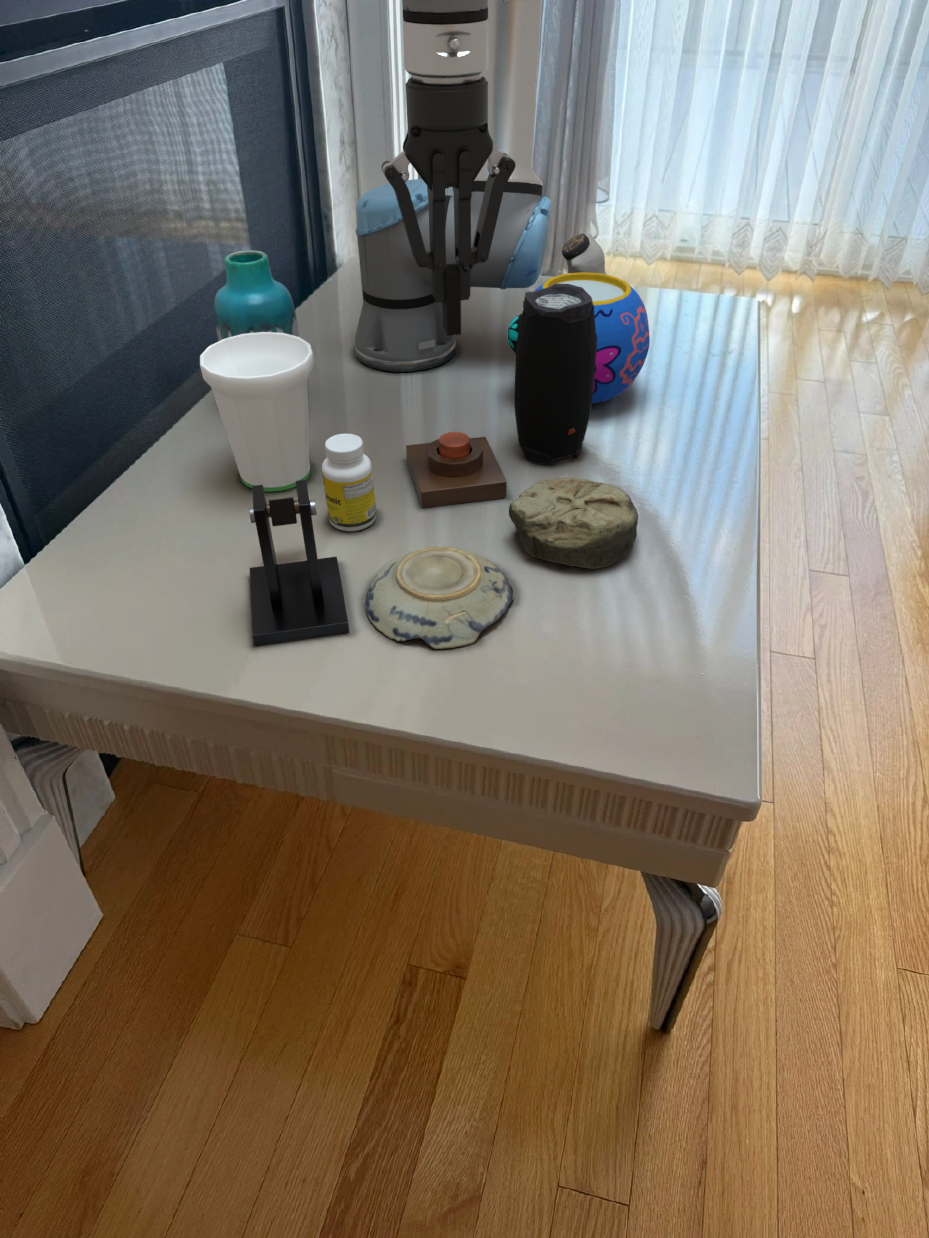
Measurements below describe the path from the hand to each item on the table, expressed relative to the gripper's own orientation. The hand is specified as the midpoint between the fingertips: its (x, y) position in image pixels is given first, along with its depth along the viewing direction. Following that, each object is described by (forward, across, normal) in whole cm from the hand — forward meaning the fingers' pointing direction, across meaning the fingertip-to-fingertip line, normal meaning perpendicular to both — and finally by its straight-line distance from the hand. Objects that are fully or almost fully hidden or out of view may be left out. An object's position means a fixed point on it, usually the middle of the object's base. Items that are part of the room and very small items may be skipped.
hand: (451, 330), depth 96 cm
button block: (+18, 0, 0) cm, 18 cm away
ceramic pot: (+19, +21, +18) cm, 33 cm away
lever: (+11, -20, -17) cm, 28 cm away
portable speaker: (+19, +13, +4) cm, 23 cm away
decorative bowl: (+19, -6, -22) cm, 30 cm away
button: (+15, 0, 0) cm, 15 cm away
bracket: (+18, -20, -20) cm, 34 cm away
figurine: (+19, +29, +37) cm, 51 cm away
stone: (+19, +10, -15) cm, 26 cm away
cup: (+19, -21, +6) cm, 29 cm away
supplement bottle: (+19, -13, -6) cm, 23 cm away
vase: (+19, -21, +27) cm, 39 cm away
